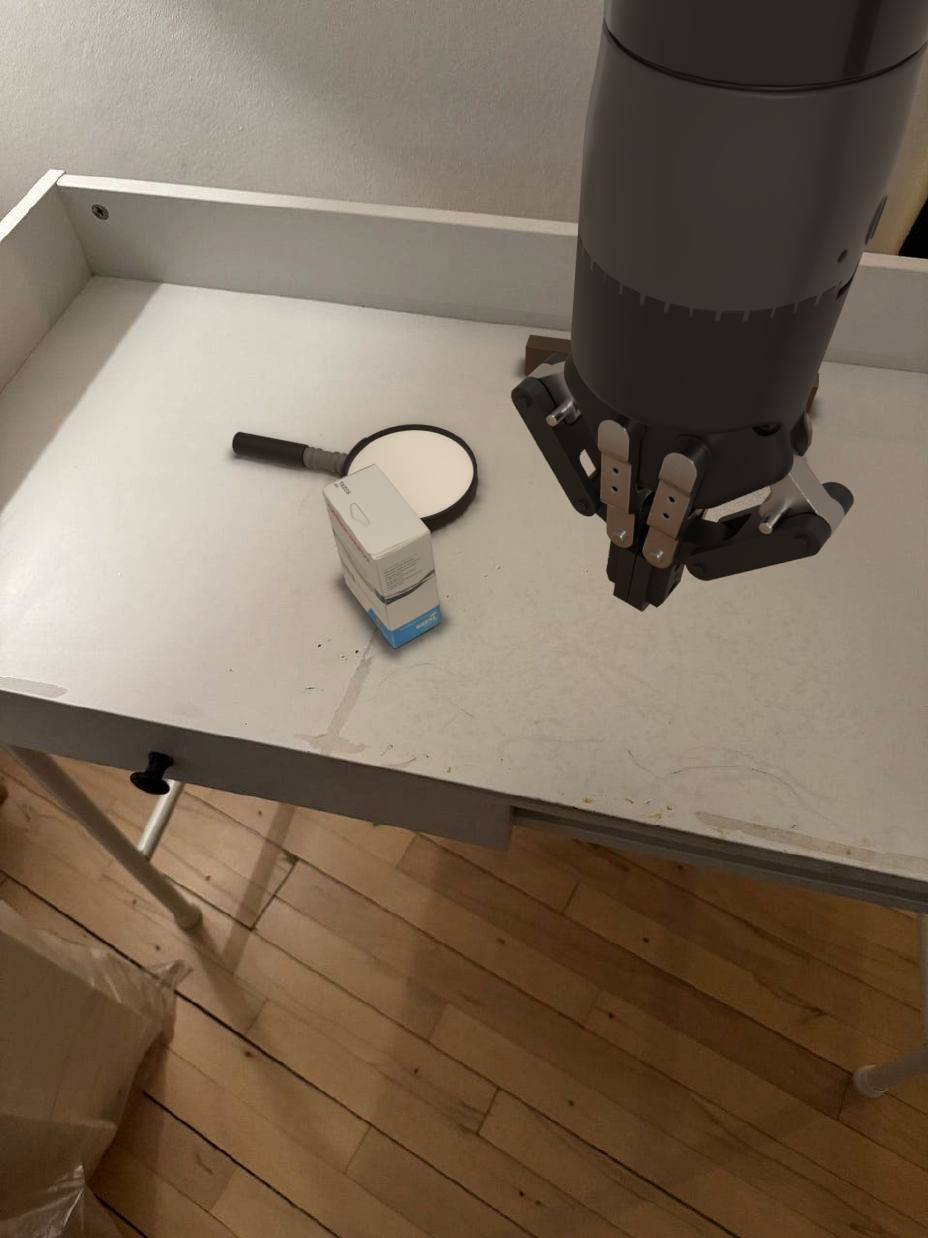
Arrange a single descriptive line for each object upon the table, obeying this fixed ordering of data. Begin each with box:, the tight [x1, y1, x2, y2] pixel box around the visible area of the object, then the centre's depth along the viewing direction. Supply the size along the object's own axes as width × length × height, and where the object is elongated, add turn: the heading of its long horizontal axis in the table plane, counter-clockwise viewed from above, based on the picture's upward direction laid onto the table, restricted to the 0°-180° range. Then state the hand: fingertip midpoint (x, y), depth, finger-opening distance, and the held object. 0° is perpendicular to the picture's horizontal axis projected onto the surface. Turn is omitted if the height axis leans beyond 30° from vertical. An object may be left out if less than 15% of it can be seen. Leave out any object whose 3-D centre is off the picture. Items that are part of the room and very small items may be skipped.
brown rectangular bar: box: [524, 334, 820, 415], centre depth 82 cm, size 28×2×4 cm, turn 74°
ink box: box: [321, 464, 442, 649], centre depth 65 cm, size 8×5×12 cm, turn 32°
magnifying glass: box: [231, 423, 479, 531], centre depth 78 cm, size 12×24×2 cm, turn 73°
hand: (640, 591), depth 36 cm, fingers closed
